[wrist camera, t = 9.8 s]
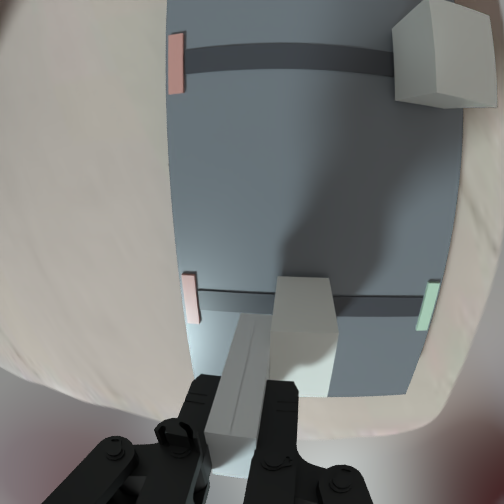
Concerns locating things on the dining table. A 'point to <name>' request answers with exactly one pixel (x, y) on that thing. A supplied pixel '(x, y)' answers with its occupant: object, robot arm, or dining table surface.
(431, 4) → the block
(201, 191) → the breaker panel
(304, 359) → the block
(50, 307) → the dining table surface
